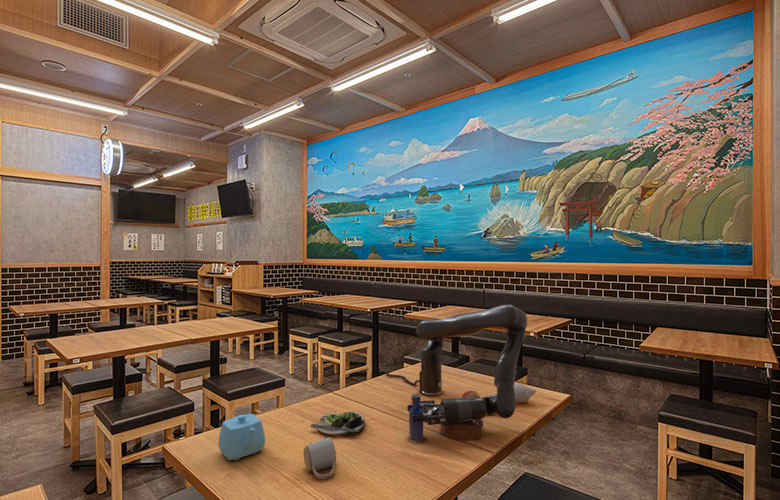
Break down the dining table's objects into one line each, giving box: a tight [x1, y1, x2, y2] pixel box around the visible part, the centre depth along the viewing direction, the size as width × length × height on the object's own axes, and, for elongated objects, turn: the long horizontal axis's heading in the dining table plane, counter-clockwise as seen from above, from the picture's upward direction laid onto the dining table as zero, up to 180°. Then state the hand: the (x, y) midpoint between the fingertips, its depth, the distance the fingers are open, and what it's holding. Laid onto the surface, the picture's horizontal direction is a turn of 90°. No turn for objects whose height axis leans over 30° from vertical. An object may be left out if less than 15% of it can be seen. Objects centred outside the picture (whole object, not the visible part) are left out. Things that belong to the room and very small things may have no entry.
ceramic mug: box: [303, 436, 337, 480], centre depth 110 cm, size 11×8×8 cm
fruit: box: [460, 390, 482, 398], centre depth 151 cm, size 8×8×8 cm
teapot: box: [218, 413, 266, 461], centre depth 120 cm, size 12×18×12 cm
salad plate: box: [309, 411, 365, 436], centre depth 138 cm, size 19×18×5 cm
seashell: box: [491, 383, 537, 404], centre depth 160 cm, size 9×11×15 cm
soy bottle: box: [408, 394, 425, 442], centre depth 128 cm, size 5×5×15 cm
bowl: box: [438, 419, 485, 442], centre depth 133 cm, size 15×15×4 cm
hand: (410, 413), depth 128 cm, fingers open, 8 cm apart
